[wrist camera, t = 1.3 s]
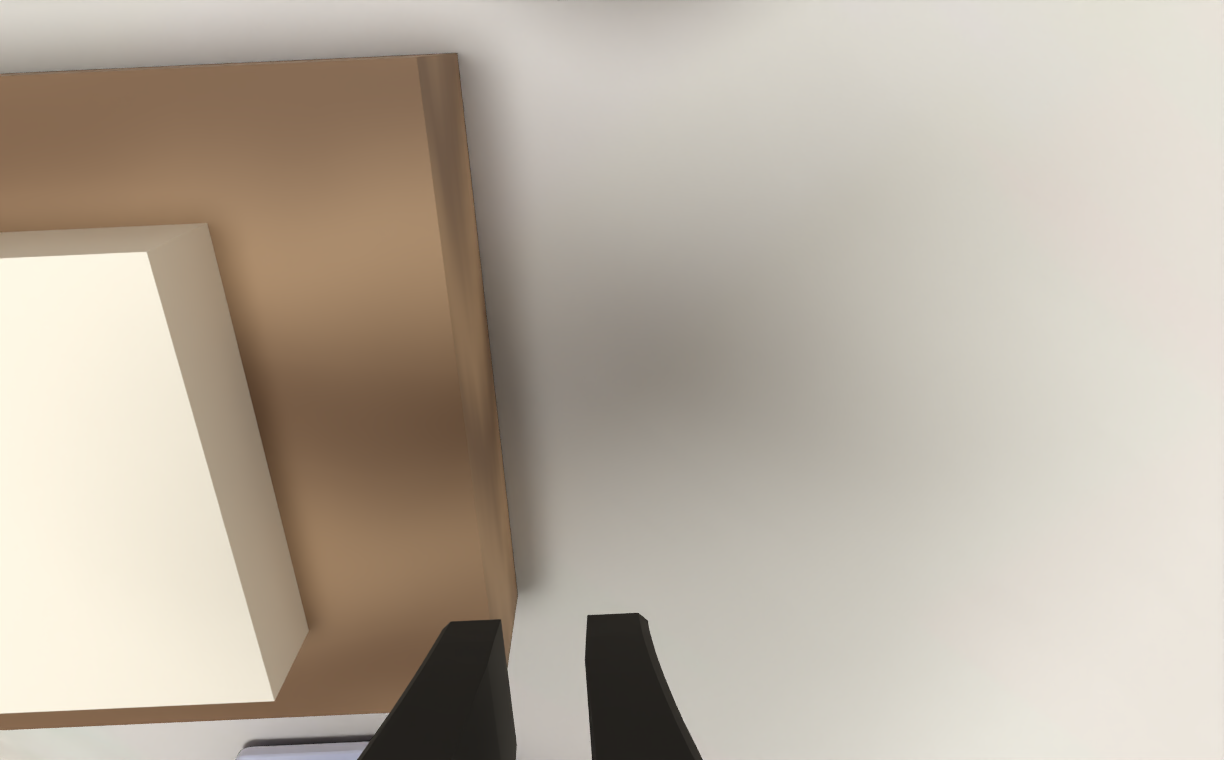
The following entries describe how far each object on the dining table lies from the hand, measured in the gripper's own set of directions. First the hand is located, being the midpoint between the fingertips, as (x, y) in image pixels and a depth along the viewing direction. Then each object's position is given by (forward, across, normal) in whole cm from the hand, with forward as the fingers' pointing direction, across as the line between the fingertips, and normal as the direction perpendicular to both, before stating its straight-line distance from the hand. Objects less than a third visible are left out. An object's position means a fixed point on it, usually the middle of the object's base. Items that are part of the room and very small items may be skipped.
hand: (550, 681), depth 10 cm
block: (+6, +9, 0) cm, 11 cm away
